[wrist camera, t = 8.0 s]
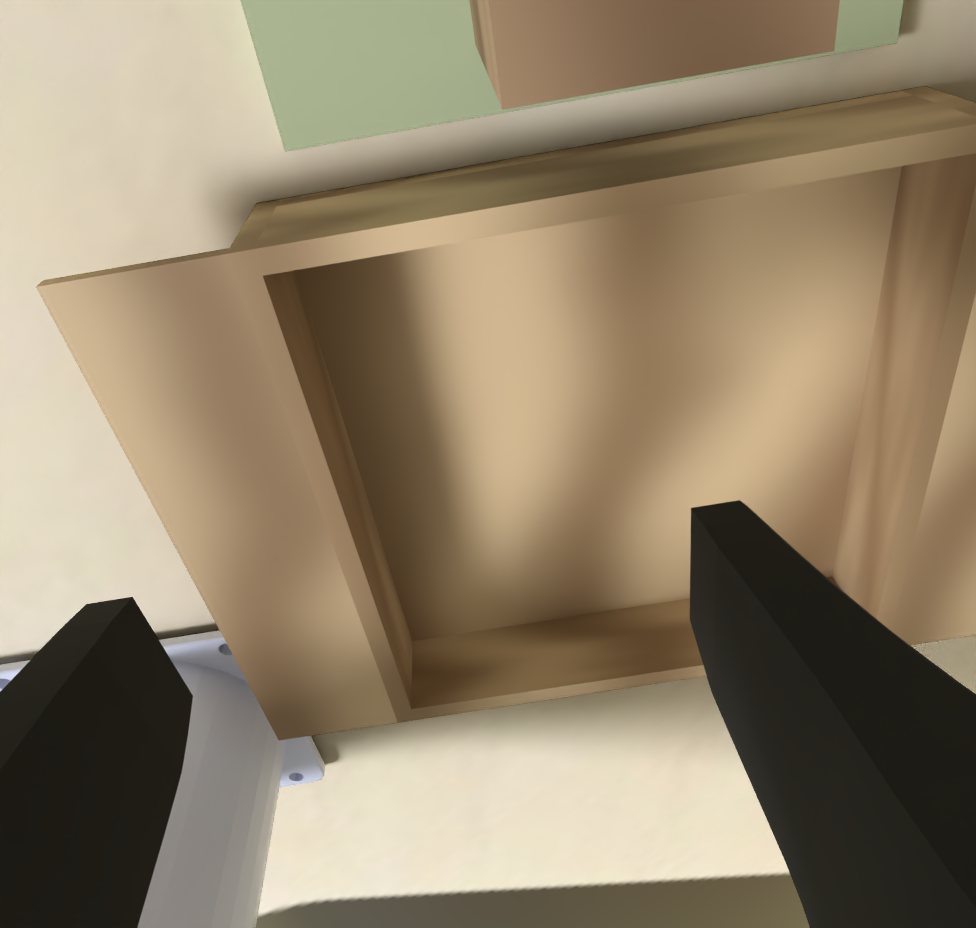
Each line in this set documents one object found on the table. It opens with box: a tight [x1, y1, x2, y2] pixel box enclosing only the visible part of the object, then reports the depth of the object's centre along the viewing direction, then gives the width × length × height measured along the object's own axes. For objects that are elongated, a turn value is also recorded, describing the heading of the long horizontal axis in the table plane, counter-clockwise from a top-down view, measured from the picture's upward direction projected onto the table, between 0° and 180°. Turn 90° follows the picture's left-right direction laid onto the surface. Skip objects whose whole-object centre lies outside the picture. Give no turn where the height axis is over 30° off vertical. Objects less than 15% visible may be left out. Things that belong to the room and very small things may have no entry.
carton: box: [36, 86, 976, 740], centre depth 18 cm, size 21×14×3 cm, turn 99°
